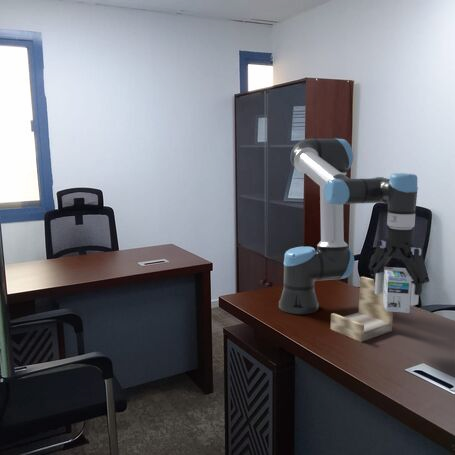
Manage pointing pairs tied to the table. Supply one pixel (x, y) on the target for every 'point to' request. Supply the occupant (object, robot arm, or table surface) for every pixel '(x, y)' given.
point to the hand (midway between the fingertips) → (395, 298)
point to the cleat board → (365, 315)
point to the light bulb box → (396, 289)
